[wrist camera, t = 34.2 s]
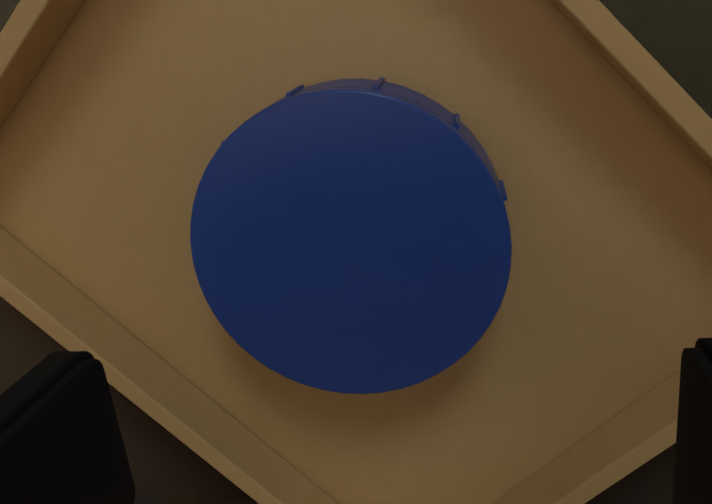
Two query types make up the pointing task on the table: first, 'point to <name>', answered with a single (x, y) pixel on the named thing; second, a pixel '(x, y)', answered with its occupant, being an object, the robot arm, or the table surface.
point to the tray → (524, 206)
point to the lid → (352, 237)
